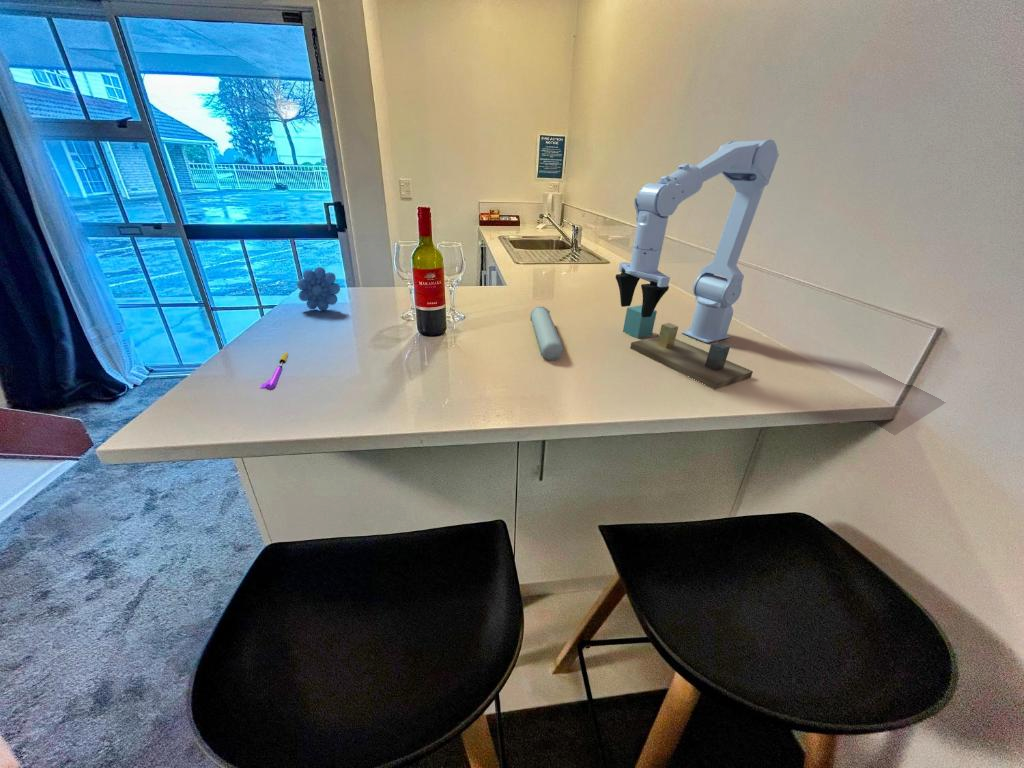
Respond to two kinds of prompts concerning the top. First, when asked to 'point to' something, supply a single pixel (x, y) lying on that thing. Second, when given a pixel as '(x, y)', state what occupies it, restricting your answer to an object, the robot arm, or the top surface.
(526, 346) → the top surface
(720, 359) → the graphite post
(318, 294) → the grapes
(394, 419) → the top surface
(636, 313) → the teal block
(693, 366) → the brown wooden board
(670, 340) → the brass post
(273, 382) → the purple bent rod
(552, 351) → the tube
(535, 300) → the top surface
